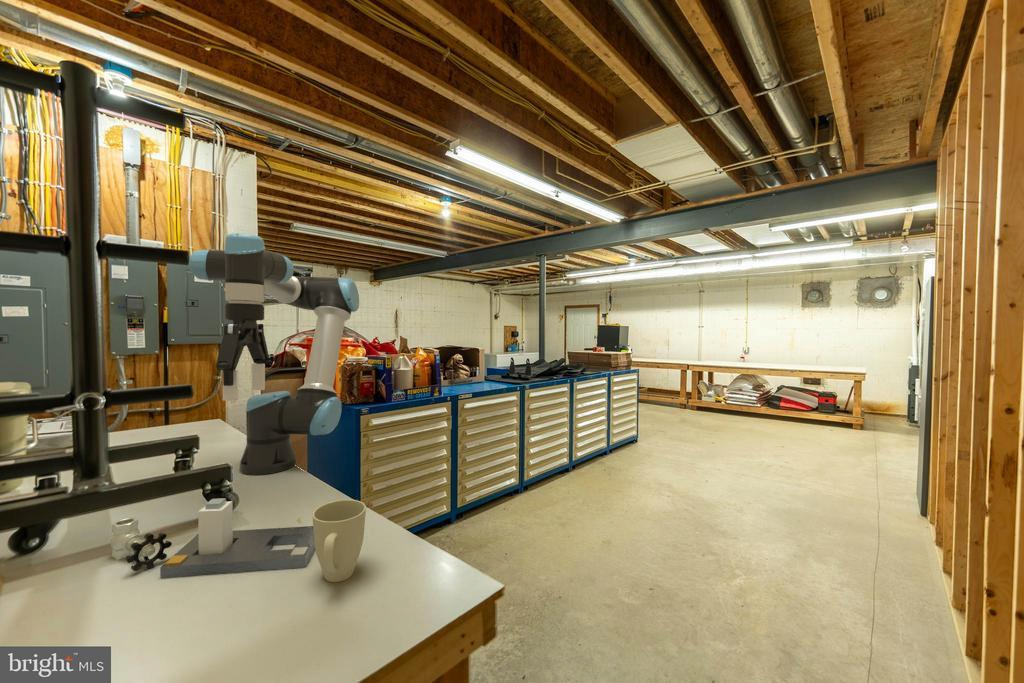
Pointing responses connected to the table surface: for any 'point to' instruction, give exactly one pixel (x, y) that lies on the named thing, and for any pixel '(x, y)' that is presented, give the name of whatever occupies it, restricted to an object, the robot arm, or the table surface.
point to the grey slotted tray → (245, 553)
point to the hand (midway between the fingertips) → (245, 394)
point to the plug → (215, 527)
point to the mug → (339, 537)
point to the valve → (136, 544)
